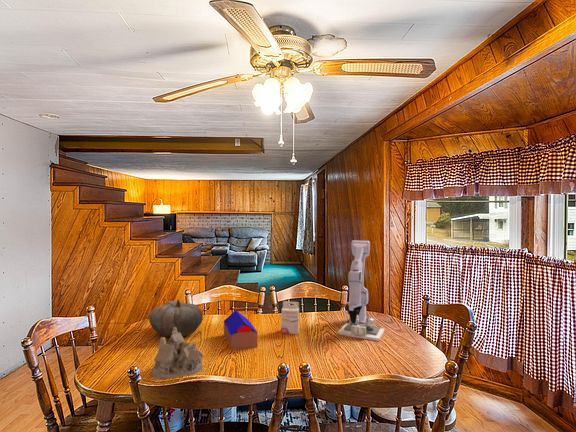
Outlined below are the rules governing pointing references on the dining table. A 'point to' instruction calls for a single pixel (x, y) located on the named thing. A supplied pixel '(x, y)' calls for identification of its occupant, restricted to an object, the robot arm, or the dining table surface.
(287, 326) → the ink cartridge box
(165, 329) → the gourd
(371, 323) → the spacer
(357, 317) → the spacer
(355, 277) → the robot arm
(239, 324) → the house
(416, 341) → the dining table surface
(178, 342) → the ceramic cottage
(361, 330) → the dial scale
